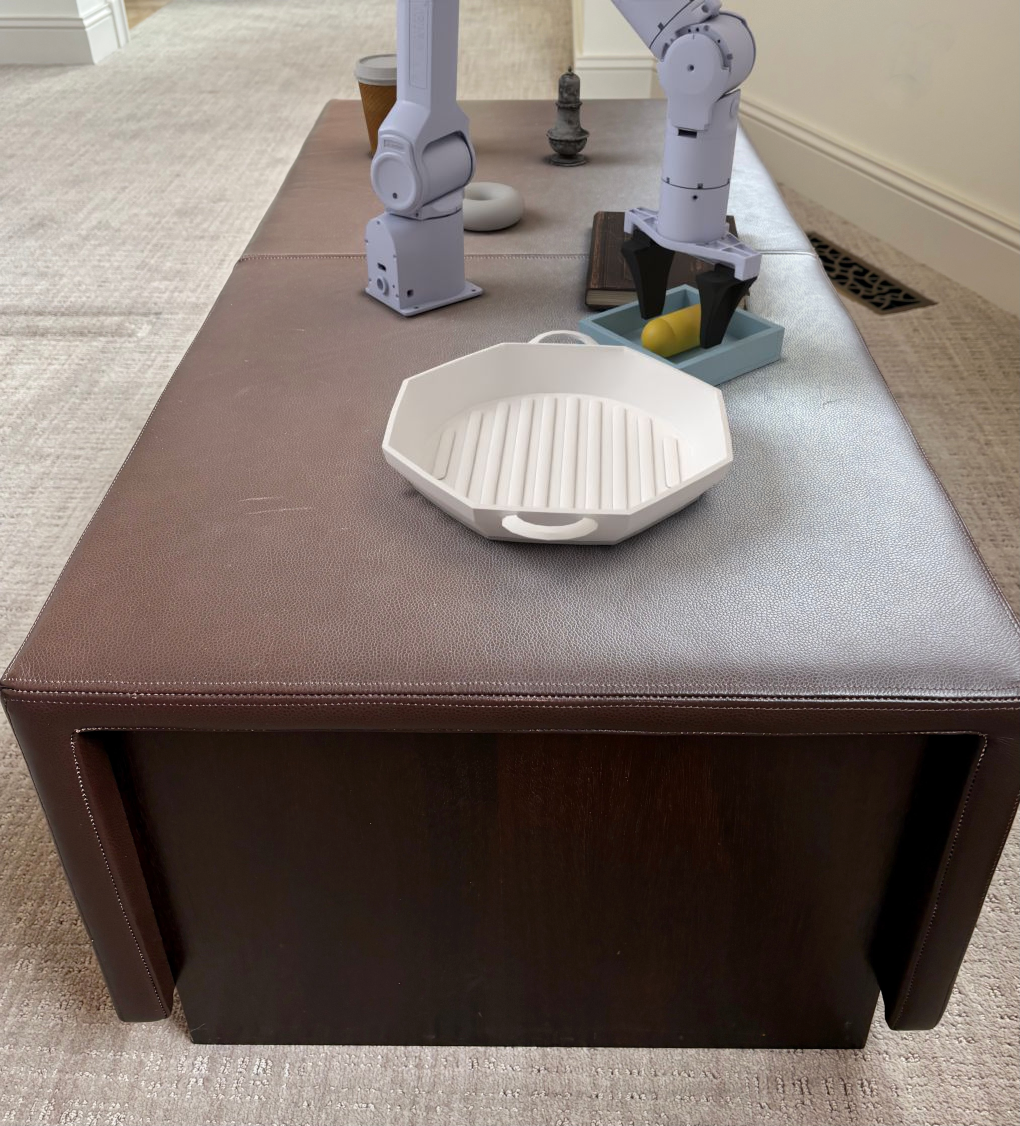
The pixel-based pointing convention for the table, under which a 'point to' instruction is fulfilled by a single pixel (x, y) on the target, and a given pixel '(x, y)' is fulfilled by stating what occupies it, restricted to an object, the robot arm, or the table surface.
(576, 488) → the pan
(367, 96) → the disposable coffee cup
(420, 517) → the table surface
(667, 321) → the yellow rounded capsule
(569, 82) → the salt shaker
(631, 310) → the tray
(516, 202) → the donut
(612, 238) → the hardcover book
